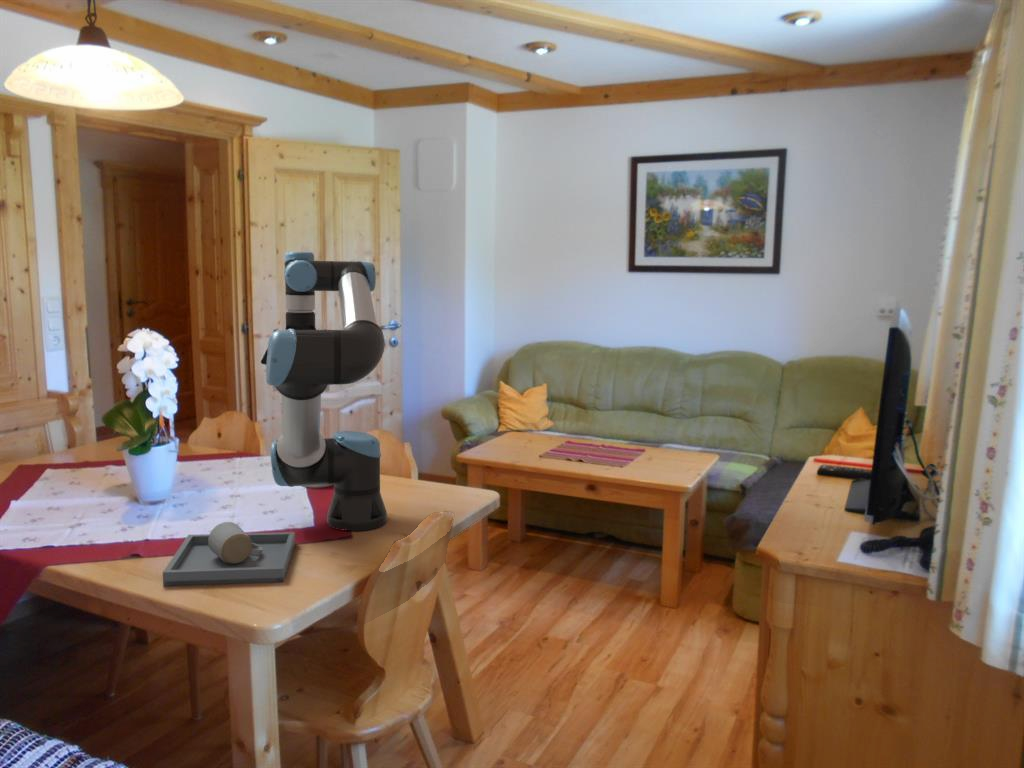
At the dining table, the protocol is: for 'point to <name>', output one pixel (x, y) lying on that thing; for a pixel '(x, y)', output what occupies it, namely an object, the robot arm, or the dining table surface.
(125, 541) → the dining table surface
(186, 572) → the slate tray
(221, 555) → the ceramic mug
